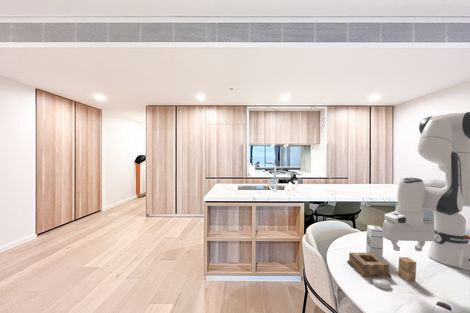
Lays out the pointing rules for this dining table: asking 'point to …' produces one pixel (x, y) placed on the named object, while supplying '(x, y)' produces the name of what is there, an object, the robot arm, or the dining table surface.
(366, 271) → the socket block
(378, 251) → the syrup box
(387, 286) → the grey flat pebble
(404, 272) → the oak peg
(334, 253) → the dining table surface
